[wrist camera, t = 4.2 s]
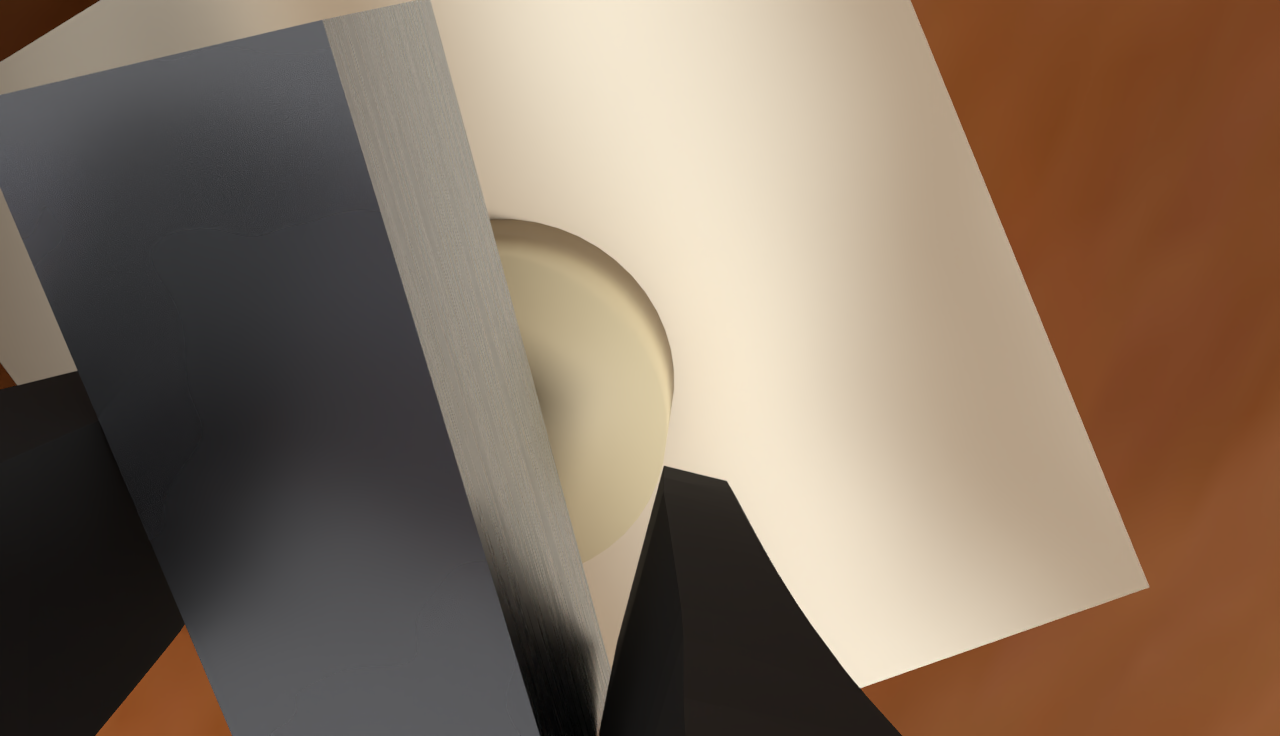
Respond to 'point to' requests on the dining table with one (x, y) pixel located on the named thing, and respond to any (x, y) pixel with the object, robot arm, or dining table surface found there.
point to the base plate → (736, 299)
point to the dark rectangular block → (314, 378)
